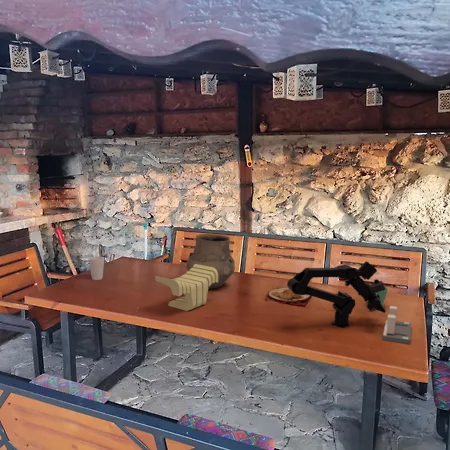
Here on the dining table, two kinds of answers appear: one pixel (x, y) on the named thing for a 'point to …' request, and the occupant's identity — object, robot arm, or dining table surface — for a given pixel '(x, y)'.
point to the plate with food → (287, 296)
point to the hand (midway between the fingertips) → (385, 312)
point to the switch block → (398, 333)
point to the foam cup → (96, 267)
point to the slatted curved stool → (191, 286)
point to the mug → (382, 295)
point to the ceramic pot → (213, 256)
